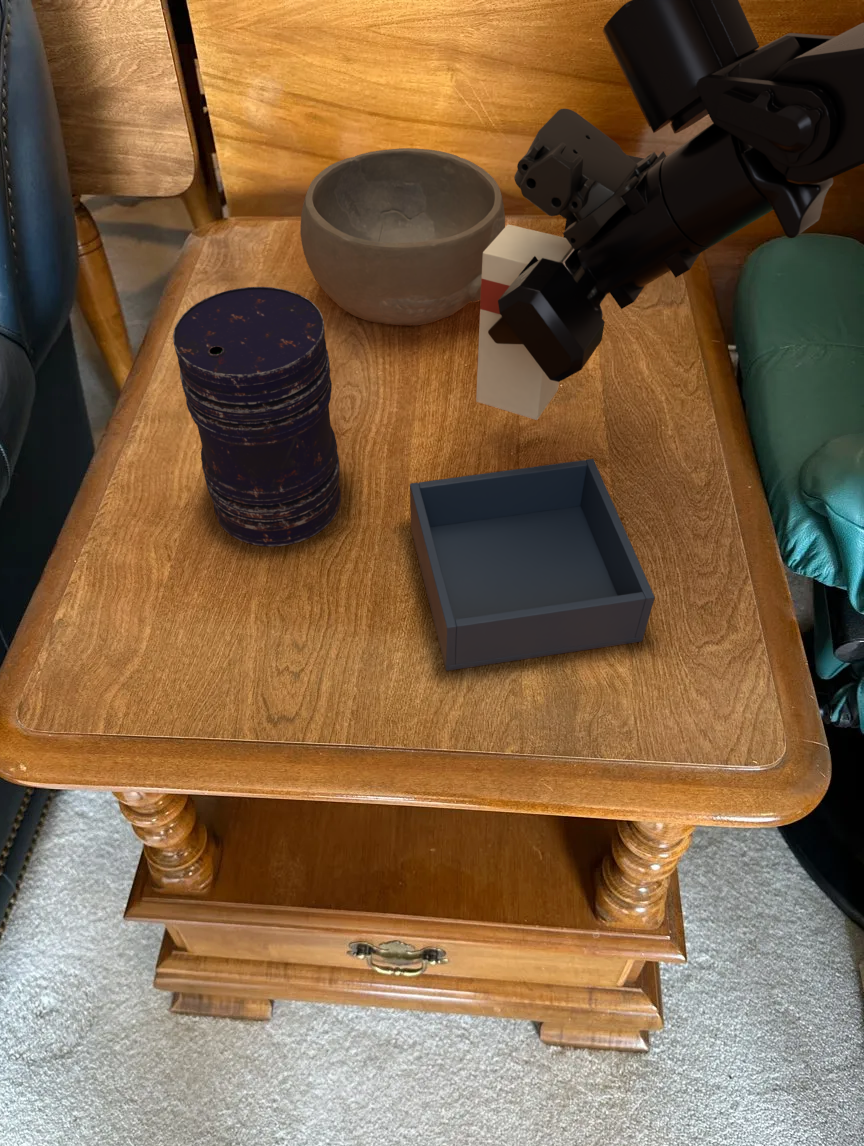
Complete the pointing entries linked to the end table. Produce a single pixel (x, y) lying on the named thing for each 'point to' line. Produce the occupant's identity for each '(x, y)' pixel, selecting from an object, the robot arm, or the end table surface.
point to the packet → (501, 367)
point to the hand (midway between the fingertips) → (505, 320)
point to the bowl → (401, 233)
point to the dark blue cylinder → (262, 412)
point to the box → (527, 564)
